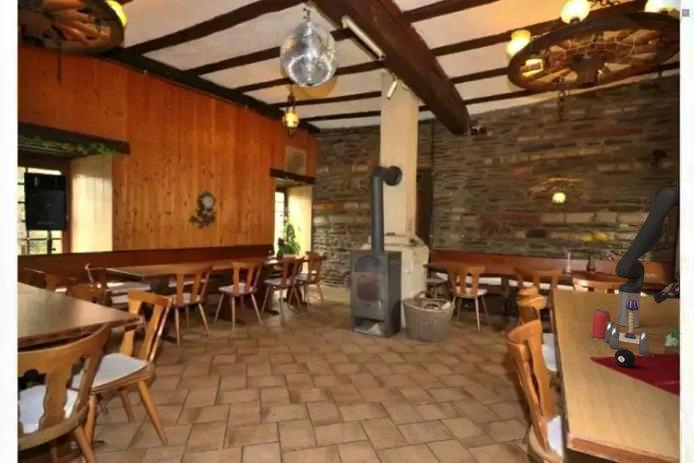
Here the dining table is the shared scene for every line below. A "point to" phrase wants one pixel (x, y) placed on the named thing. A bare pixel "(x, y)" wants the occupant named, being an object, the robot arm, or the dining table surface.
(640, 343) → the spacer posts
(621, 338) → the ceramic tile
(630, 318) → the toy lamp
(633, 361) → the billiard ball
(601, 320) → the beer can
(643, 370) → the dining table surface
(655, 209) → the robot arm
